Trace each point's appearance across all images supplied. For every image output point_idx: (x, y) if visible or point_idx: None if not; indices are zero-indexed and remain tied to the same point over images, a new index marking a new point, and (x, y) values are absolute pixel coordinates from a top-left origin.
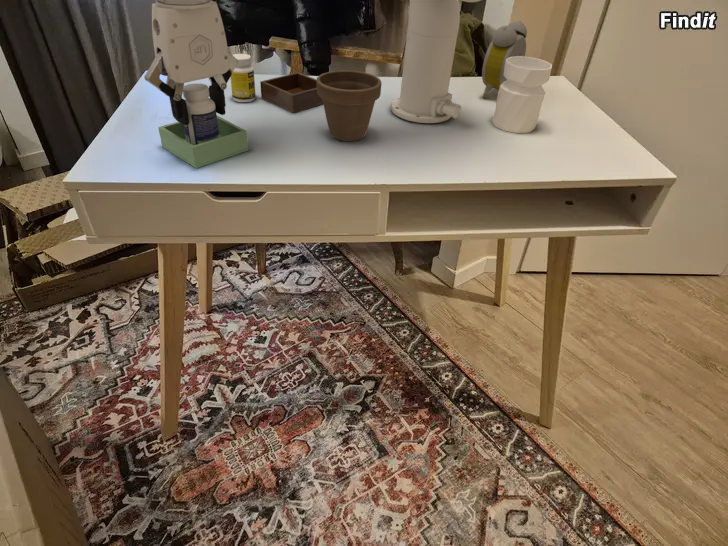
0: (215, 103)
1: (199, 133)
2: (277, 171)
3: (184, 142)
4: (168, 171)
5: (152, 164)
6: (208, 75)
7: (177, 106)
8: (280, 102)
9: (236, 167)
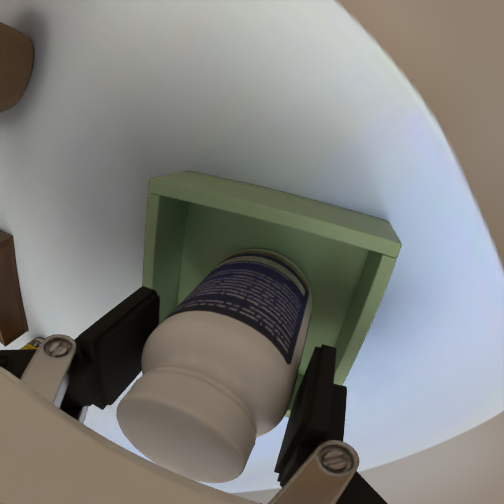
0: (139, 342)
1: (293, 300)
2: (238, 8)
3: (378, 301)
4: (441, 277)
5: (424, 339)
6: (81, 438)
7: (337, 425)
8: (10, 280)
9: (302, 116)
